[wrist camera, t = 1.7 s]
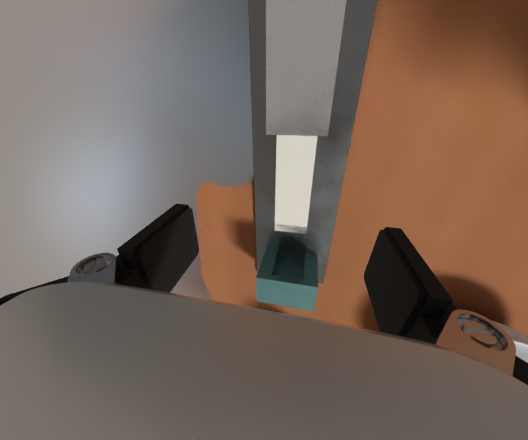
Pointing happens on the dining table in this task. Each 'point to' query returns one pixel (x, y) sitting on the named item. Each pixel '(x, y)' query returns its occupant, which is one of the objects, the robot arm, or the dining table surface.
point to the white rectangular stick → (293, 181)
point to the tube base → (324, 145)
